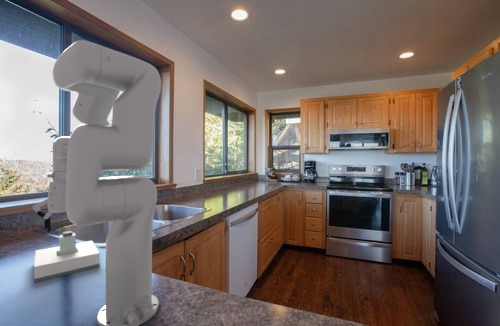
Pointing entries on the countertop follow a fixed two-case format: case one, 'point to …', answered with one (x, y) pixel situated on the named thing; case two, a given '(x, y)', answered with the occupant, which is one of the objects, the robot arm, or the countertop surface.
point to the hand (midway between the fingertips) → (67, 228)
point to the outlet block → (65, 261)
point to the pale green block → (67, 243)
